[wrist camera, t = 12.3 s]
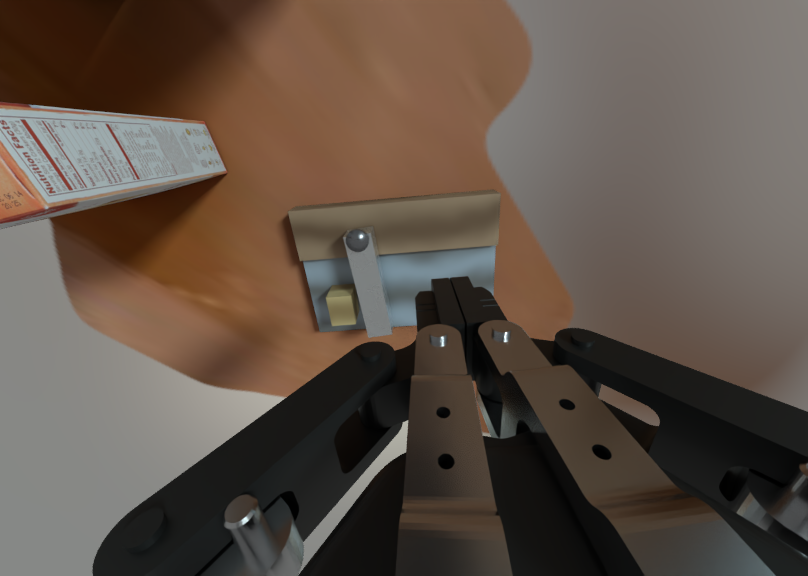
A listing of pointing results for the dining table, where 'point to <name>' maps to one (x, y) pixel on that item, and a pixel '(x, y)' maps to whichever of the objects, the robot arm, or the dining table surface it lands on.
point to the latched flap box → (396, 249)
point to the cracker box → (94, 159)
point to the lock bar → (369, 280)
